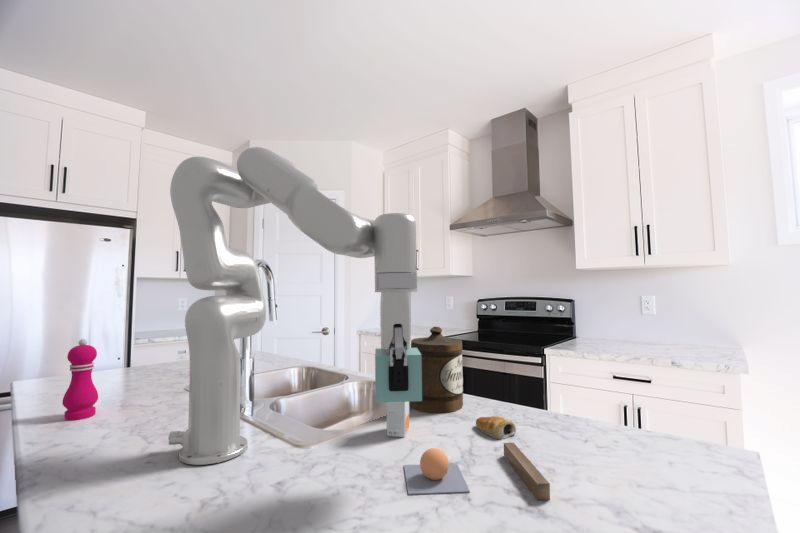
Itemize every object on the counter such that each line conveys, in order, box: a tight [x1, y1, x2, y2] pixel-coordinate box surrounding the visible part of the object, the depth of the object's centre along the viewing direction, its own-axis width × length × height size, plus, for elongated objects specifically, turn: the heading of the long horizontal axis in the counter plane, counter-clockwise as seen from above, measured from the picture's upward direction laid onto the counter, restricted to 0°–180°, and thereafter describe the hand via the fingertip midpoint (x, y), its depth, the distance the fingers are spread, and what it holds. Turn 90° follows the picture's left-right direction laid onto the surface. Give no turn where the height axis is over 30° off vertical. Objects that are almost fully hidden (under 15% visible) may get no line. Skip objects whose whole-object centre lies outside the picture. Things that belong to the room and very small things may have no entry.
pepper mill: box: [62, 338, 99, 421], centre depth 102 cm, size 7×7×20 cm
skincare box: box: [386, 402, 410, 438], centre depth 90 cm, size 6×4×12 cm
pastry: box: [475, 416, 517, 440], centre depth 90 cm, size 9×7×4 cm
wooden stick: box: [503, 442, 551, 501], centre depth 69 cm, size 2×16×2 cm, turn 4°
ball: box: [419, 447, 450, 480], centre depth 68 cm, size 5×5×5 cm
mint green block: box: [374, 347, 422, 403], centre depth 68 cm, size 8×8×8 cm
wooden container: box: [409, 326, 464, 414], centre depth 111 cm, size 15×15×22 cm
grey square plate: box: [403, 462, 471, 496], centre depth 68 cm, size 10×10×1 cm
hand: (397, 383), depth 68 cm, fingers closed on mint green block, 7 cm apart
